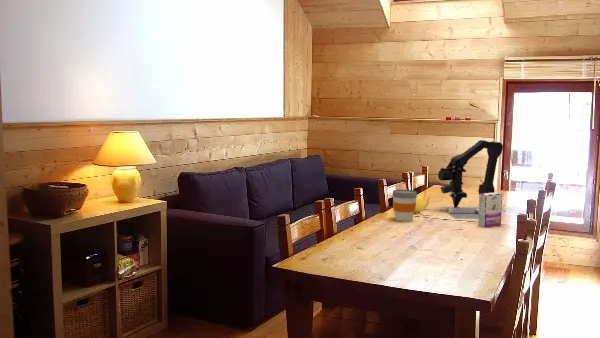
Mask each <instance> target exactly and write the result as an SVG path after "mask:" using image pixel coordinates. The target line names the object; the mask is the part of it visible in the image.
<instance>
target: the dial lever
mask: <svg viewBox="0 0 600 338" xmlns="http://www.w3.org/2000/svg"><path fill="white" fill-rule="evenodd" d="M448 211H449V213H478V214H479V206H478V207H477V206H474V207H473V206H469V207H468V206H467V207H466V206H465V207H464V206H457V207H454V206H449V207H448Z"/></svg>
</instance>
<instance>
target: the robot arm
mask: <svg viewBox="0 0 600 338" xmlns="http://www.w3.org/2000/svg"><path fill="white" fill-rule="evenodd" d="M483 149H486V152H487V156H488V157H487V158H488V159H487V163H486V164H487V165H486V169H485V174H484V179H483V180H484V181H483V182H482V184H480V183H479V185H478V190H477V192H478V195H479V194H483V193H493V192H495V186H494V180H495V179H494V178H495V175H496V174H495V173H496V168H497V163H498V158H499V157H500V156H501V155H502V152H503V149H504V145H503V144H502V142H500V141H493V140H492V141H487V140H483V139H480V140H478V141H477V142H476V143H475V144H473V145H472V146H470V147H469V148H468V149H467V150H465V151H464V152H463V153H460V154H457V155H455V156H453V157H452V158H451V159H450V161H449V162H448V165H447V166H446V167H440V170H439V171H438V173H437V178H438V180H439V181H442V182H443V181H449V184H445V185H443V186H440V191H441V193H442V194H448V193H449V194H448V195H449V196H450V198H451V199H452V204H453V207H459V205H460V202H461V201H462V200H463V198H464V199H465V198H466V199H467V198H468V193H467V192H465V191H464V190H463V185H464V182H463V173H466V172H467V170H466V169H465V168H464V167H465V166H466V165H467V164H468V161H469V160H470V159H472V158H474V157H475V156H476V155H477V154H478V153H479V152H481V151H482V150H483Z"/></svg>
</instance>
